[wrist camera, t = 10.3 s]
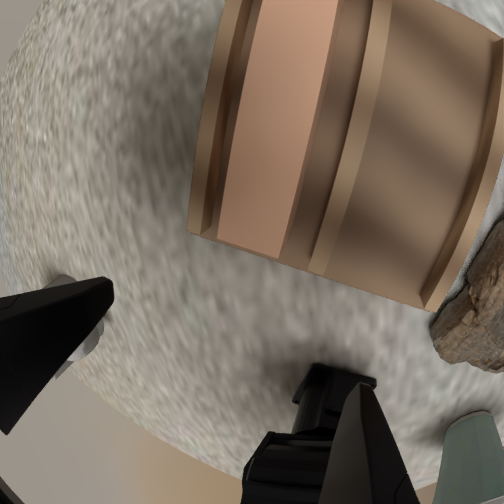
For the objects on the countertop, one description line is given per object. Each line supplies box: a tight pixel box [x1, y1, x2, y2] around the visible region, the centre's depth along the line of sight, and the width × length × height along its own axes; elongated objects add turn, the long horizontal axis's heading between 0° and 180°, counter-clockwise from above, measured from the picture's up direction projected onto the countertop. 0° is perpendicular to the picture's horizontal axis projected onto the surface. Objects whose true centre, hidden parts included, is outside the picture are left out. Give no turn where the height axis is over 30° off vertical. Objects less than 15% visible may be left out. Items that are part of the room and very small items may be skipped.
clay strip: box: [217, 0, 344, 259], centre depth 13 cm, size 16×4×3 cm, turn 169°
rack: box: [191, 0, 502, 312], centre depth 14 cm, size 20×18×1 cm
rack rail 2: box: [420, 38, 504, 313], centre depth 11 cm, size 18×1×2 cm, turn 169°
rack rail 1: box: [187, 0, 253, 235], centre depth 14 cm, size 18×1×2 cm, turn 169°
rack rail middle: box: [308, 0, 392, 275], centre depth 12 cm, size 18×1×2 cm, turn 169°
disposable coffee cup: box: [432, 411, 504, 504], centre depth 14 cm, size 11×11×15 cm
